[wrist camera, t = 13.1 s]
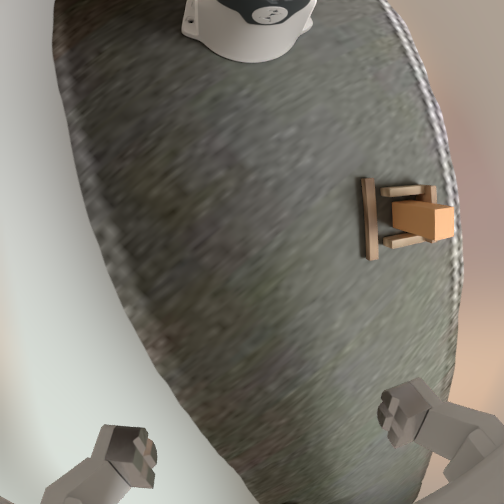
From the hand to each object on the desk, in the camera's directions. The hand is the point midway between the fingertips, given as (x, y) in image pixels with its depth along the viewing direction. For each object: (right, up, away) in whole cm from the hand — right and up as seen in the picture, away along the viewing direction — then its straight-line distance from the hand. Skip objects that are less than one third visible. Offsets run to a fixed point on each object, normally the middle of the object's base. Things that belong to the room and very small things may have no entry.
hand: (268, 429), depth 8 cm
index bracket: (+23, +12, +32) cm, 41 cm away
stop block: (+23, +12, +32) cm, 41 cm away
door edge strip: (+17, +11, +31) cm, 37 cm away
